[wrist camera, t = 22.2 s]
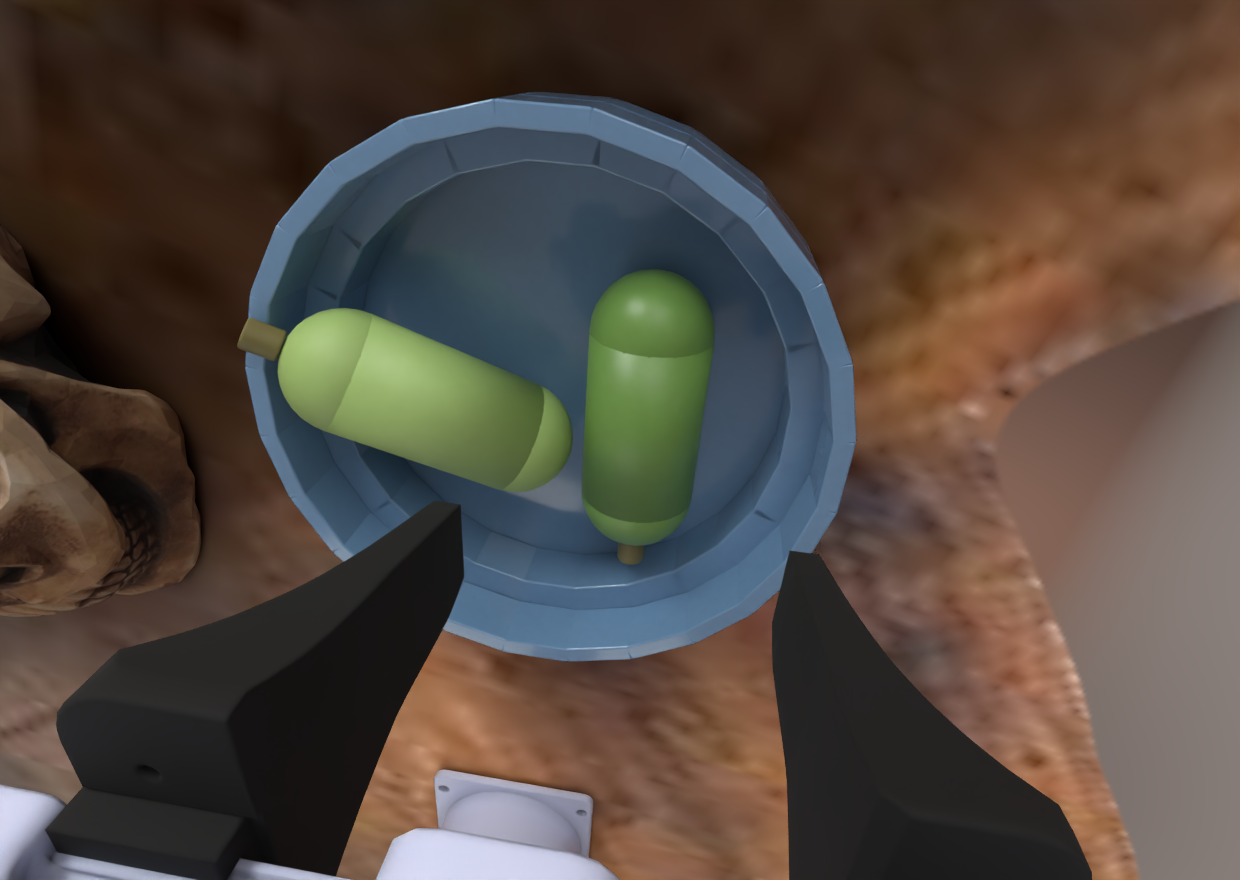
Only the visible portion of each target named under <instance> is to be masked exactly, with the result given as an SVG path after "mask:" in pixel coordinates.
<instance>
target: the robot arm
mask: <svg viewBox="0 0 1240 880" xmlns="http://www.w3.org/2000/svg"><path fill="white" fill-rule="evenodd" d="M463 579H464V559H463V540H462V521H461V504H454V503H447V502H439V501H433V502H432V503H430V504H429V505H427V506H426V507H424V508H423V509H421V510H420V511H418V512H417V513H416V514H414V515H413V516H411V517H410V518H409V519H407V520H406V521H404V522H403V523H402V524H400V525H399V526H397V527H396V528H395V529H393V530H392V531H390V532H389V533H387V534H386V535H384V536H383V537H381V538H380V539H379V540H377V541H376V542H374V543H373V544H371V545H370V546H368V547H367V548H365V549H364V550H362V551H360V552H359V553H357V554H355V555H354V556H352V557H351V558H349V559H347V560H346V561H344V562H342V563H341V564H339V565H338V566H336V567H334V568H333V569H331V570H329V571H328V572H326V573H324V574H322V575H320V576H319V577H317V578H315V579H313V580H311V581H309V582H307V583H305V584H303V585H301V586H299V587H297V588H295V589H293V590H291V591H289V592H287V593H285V594H283V595H281V596H279V597H276V598H274V599H272V600H269V601H267V602H265V603H262V604H260V605H257V606H255V607H253V608H250V609H248V610H246V611H243V612H241V613H238V614H236V615H233V616H230V617H228V618H225V619H222V620H219V621H217V622H214V623H211V624H208V625H205V626H202V627H199V628H196V629H193V630H190V631H186V632H183V633H180V634H177V635H173V636H169V637H166V638H162V639H158V640H154V641H151V642H147V643H143V644H140V645H136V646H132V647H128V648H124V649H120V650H118V651H117V652H116V653H115V654H114V655H113V656H112V657H111V658H110V659H109V660H108V661H107V662H106V663H105V664H104V665H103V666H102V667H100V668H99V669H98V670H97V671H96V672H95V673H94V674H93V675H92V676H91V677H90V678H89V679H88V680H87V681H86V682H85V683H84V684H83V685H82V686H81V687H80V688H79V689H78V690H77V691H76V692H75V693H73V694H72V695H71V696H70V697H69V698H68V699H67V700H66V701H65V702H64V703H63V705H62V706H61V708H60V709H59V711H58V712H57V722H56V726H57V731H58V734H59V738H60V741H61V743H62V745H63V747H64V749H65V751H66V753H67V755H68V757H69V760H70V762H71V764H72V766H73V768H74V770H75V772H76V774H77V776H78V778H79V780H80V782H81V784H82V786H83V788H82V789H81V790H80V791H79V792H78V793H77V794H76V795H75V797H74V798H73V799H72V800H71V801H70V802H69V803H68V804H67V805H66V804H65V803H64V802H63V801H62V800H60V799H58V798H57V797H55V796H52V795H49V794H46V793H42V792H36V791H31V790H25V789H20V788H15V787H9V786H4V785H0V880H351V879H346V878H340V877H336V874H337V871H338V868H339V865H340V862H341V859H342V856H343V853H344V850H345V847H346V845H347V842H348V839H349V836H350V834H351V831H352V828H353V825H354V823H355V820H356V817H357V814H358V812H359V809H360V806H361V803H362V801H363V798H364V795H365V793H366V790H367V788H368V785H369V783H370V780H371V777H372V775H373V772H374V770H375V767H376V765H377V762H378V759H379V757H380V755H381V752H382V750H383V747H384V745H385V742H386V740H387V738H388V735H389V733H390V730H391V728H392V726H393V723H394V721H395V718H396V716H397V714H398V712H399V710H400V708H401V706H402V704H403V702H404V700H405V698H406V696H407V694H408V692H409V690H410V689H411V687H412V685H413V683H414V681H415V679H416V678H417V676H418V674H419V672H420V670H421V668H422V667H423V665H424V663H425V661H426V659H427V657H428V656H429V654H430V652H431V650H432V648H433V646H434V644H435V643H436V641H437V639H438V637H439V635H440V633H441V631H442V629H443V628H444V626H445V624H446V622H447V620H448V618H449V616H450V614H451V611H452V609H453V606H454V603H455V601H456V598H457V596H458V593H459V590H460V587H461V585H462V582H463ZM772 659H773V673H774V681H775V689H776V697H777V705H778V712H779V719H780V727H781V734H782V742H783V749H784V757H785V766H786V777H787V796H788V829H789V880H1092V872H1091V870H1090V867H1089V865H1088V863H1087V861H1086V858H1085V856H1084V854H1083V852H1082V849H1081V847H1080V845H1079V842H1078V840H1077V838H1076V836H1075V834H1074V832H1073V830H1072V828H1071V826H1070V825H1069V823H1068V821H1067V819H1066V817H1065V816H1064V814H1063V812H1062V810H1061V808H1060V806H1059V805H1058V804H1057V803H1055V802H1054V801H1052V800H1051V799H1050V798H1048V797H1047V796H1045V795H1044V794H1042V793H1041V792H1040V791H1038V790H1037V789H1035V788H1034V787H1032V786H1031V785H1030V784H1028V783H1027V782H1025V781H1024V780H1022V779H1021V778H1020V777H1018V776H1017V775H1015V774H1014V773H1012V772H1011V771H1010V770H1008V769H1007V768H1006V767H1004V766H1003V765H1002V764H1000V763H999V762H998V761H997V760H995V759H994V758H993V757H992V756H990V755H989V754H988V753H987V752H985V751H984V750H983V749H981V748H980V747H979V746H978V745H977V744H975V743H974V742H973V741H972V740H971V739H969V738H968V737H967V736H966V735H965V734H964V733H962V732H961V731H960V730H959V729H958V728H957V727H956V726H955V725H953V724H952V723H951V722H950V721H949V720H948V719H947V718H946V717H945V716H944V715H943V714H942V713H940V712H939V711H938V710H937V709H936V708H935V707H934V706H933V705H932V704H931V703H930V702H929V701H928V700H927V699H926V698H925V697H924V696H923V695H922V694H921V693H920V692H919V691H918V690H917V689H916V688H915V687H914V686H913V684H912V683H911V682H910V681H909V680H908V679H907V678H906V677H905V676H904V675H903V674H902V673H901V671H900V670H899V669H898V668H897V667H896V666H895V665H894V663H893V662H892V661H891V660H890V658H889V657H888V656H887V655H886V653H885V652H884V651H883V650H882V648H881V647H880V646H879V644H878V643H877V642H876V641H875V639H874V638H873V636H872V635H871V634H870V632H869V631H868V630H867V628H866V627H865V625H864V624H863V622H862V621H861V620H860V618H859V617H858V615H857V614H856V612H855V611H854V610H853V608H852V607H851V605H850V603H849V602H848V600H847V599H846V597H845V596H844V594H843V593H842V591H841V589H840V588H839V586H838V585H837V583H836V581H835V580H834V578H833V576H832V575H831V573H830V571H829V570H828V568H827V566H826V565H825V563H824V561H823V560H822V558H821V557H820V556H819V554H811V553H804V552H797V551H790V550H789V554H788V559H787V563H786V567H785V571H784V575H783V580H782V584H781V588H780V592H779V597H778V601H777V605H776V609H775V613H774V618H773V622H772ZM434 785H435V795H436V805H437V815H438V826H439V828H416V829H414V830H411V831H409V832H407V833H405V834H403V835H401V836H399V837H397V838H395V839H393V841H392V843H391V846H390V848H389V850H388V852H387V855H386V857H385V859H384V862H383V864H382V866H381V869H380V871H379V873H378V876H377V878H376V880H619V878H618V877H617V876H616V875H615V874H614V873H612V872H611V871H610V870H609V869H607V868H606V867H605V866H604V865H602V864H601V863H600V862H599V861H597V860H594V859H591V858H589V849H590V837H591V825H592V812H593V799H592V798H591V797H590V796H588V795H586V794H582V793H577V792H571V791H565V790H560V789H554V788H548V787H542V786H537V785H531V784H525V783H519V782H514V781H508V780H502V779H497V778H491V777H485V776H479V775H474V774H468V773H462V772H456V771H451V770H443V769H442V770H439V771H438V772H437V773H436V775H435V778H434Z"/></svg>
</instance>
